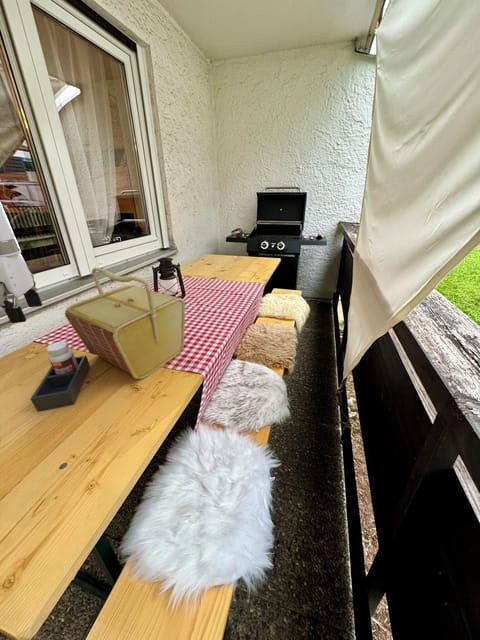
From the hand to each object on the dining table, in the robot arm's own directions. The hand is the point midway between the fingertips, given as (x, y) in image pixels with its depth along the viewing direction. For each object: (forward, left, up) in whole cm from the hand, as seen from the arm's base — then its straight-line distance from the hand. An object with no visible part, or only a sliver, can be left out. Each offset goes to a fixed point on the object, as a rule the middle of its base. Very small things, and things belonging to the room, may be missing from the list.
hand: (28, 313), depth 68 cm
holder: (+2, -3, -24) cm, 24 cm away
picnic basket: (+22, +8, -24) cm, 34 cm away
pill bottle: (+2, +2, -23) cm, 23 cm away
